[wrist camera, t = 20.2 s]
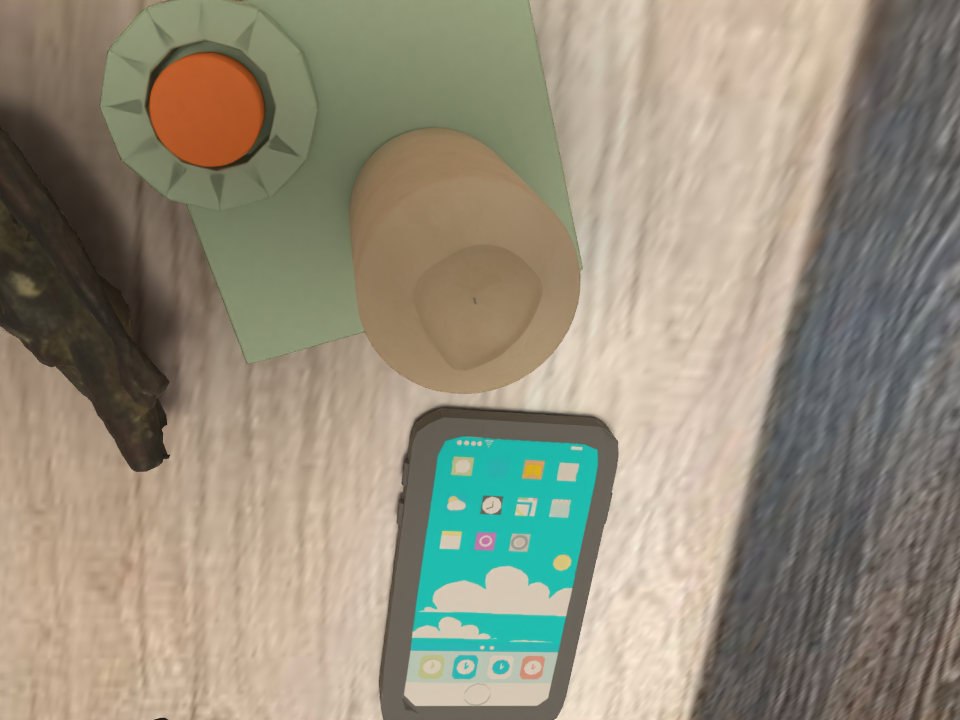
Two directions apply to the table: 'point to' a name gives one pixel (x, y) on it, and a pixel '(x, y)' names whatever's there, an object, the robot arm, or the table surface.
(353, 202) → the candle
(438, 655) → the smartphone
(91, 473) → the table surface
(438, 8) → the scale
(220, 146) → the button
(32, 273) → the statue
